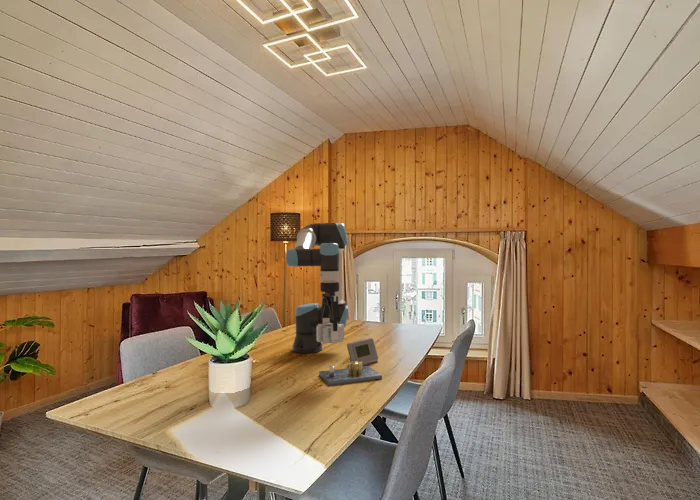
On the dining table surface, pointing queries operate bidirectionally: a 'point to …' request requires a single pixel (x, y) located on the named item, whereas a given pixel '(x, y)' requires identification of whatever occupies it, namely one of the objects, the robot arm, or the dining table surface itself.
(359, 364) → the carrier
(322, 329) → the planet gear
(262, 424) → the dining table surface
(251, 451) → the dining table surface
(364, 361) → the digital clock
